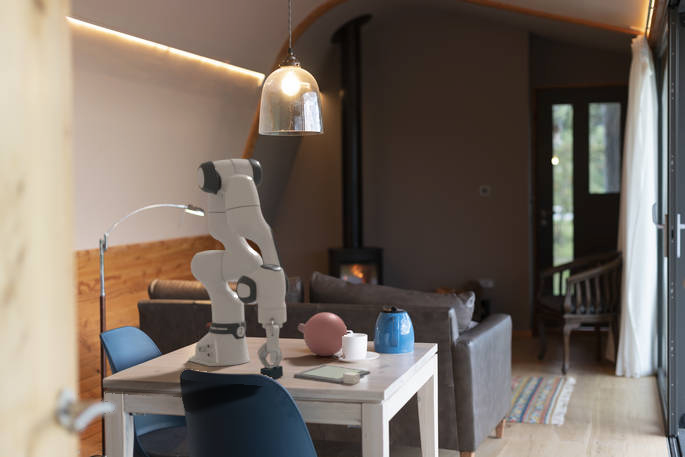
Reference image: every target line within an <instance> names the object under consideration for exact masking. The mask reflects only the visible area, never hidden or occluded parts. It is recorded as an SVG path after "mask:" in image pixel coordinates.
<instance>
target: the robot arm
mask: <svg viewBox="0 0 685 457" xmlns="http://www.w3.org/2000/svg"><path fill="white" fill-rule="evenodd" d="M263 174H264V173H263V167H262V165H261V164H260V162H259V161H258V160H257V159H253V158H246V159H245V158H228V159H222V160H221V159H220V160H215V161H214V160H213V161H212V160H210V161H205V162H203V163H202V162H201V164H199V166H198V169H197V173H196V178H197V179H196V180H197V183H198V187H199V189H201V191H203V192H204V193H207V221H208V232H209V234H210V236H211V237H212V238H213V239H215V240H217V241H219V242H220V243H222V245H223V246H224V250H220V249H218V250H212V249H210V250H204V251H201V252H196V253H195V254H194V256H192V260H191V262H190V272H191V274H192V275H193V277H194V279H196V280H197V281H199V283H200V284H202V285H203V286H204V288H205V289H206V291H207V294H208V296H209V300H210V303H211V313H212V314H211V316H212V317H211V319H212V321H211V322H208V323H206V325H207V326H206V327H207V328H209V329H208V333H206V334H205V335H204V336H203V337H202V338H201V339H200V340H199V341H198V342H196V344H195V350H194V352H195V353H194V354H193V355H192V356H190V357H188V361H189V362H192V363H196V364H200V365H204V366H207V367H219V366H221V367H222V366H223V367H224V366H236V365H243V364H246V363H249V362H250V361H251V358H250V354H249V350H248V344H247V343H248V342H247V337H246V331H247V327H246V326H247V323H246V320H245V305H246V304H247V305H255V304H257V323H259V324H262V326H261V327H262V328H263V329H265V332H266V343H267V351H270V352H269V358H270V359H269V360H270V364H274V363H276V351H278V350H279V347H280V329H281V328H283V326H284V325H283V324H284V323H286V322H287V304H286V298H287V296H288V294H289V293H290V292H289V291H290V288H291V287H290V286H291V284H290V280H289V278H288V275H287V274H286V271H285V270H284V269H285V268H284V265H283V262H282V258H281V255H280V252H279V247H278V245H277V241H276V237H275V235H274V232H273V229H272V227H271V226H270V225H269V223H267V221H266V220H265V218H264V216H263V213H262V209H261V203H260V198H259V194H258V193H259V192H258V190H257V189H258V187H260V185H261V184H262V182H263V177H264V176H263ZM247 240H250V241H252V243H254V244H256V245H257V247H258V248H259V250H260V252H261V255H260V254H259V253H258V252H257V251H256V250H254V249H253V248H252V247H251V245H249V243H248V242H247ZM261 256H262V257H261ZM236 282H237V283H236ZM229 283H236V287H235V289H236V290H235V291H234V290H232V289H231V287H230V286H229V285H230V284H229Z"/></svg>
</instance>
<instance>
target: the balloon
mask: <svg viewBox="0 0 685 457" xmlns="http://www.w3.org/2000/svg"><path fill="white" fill-rule="evenodd" d="M297 329H298V330H299V332H301V333H302V334H303V340H304V342H305V345H306V347H307V348H308V349H309V350H310V352H312V353H314V354H315V355H318V356H321V357H330V356H333V354H334V355H335V354H337V353H339V352H340V351H341V350H342V349H343V348H342V336H344V335H347V336H348V329H347V326H346V324H345V322H344V321H343V319H342V318H340V316H338V315H337V314H335V313H332V312H324V311H323V312H319V313H316V314H314V315H313V316H311V317H310V318H309V319H308V321H307V322H305V324H304V323H301V322H300V323H299V324H298V325H297Z"/></svg>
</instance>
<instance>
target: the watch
mask: <svg viewBox="0 0 685 457" xmlns="http://www.w3.org/2000/svg"><path fill="white" fill-rule="evenodd" d="M269 354H270V351H267V342H265V343H263V344H262V345H261V346H259V348H258V350H257V355H258V359H259V361H260V363H261V364H262V366H263V367H262V368H260V375H261V374H263V375H267V376H269V377H272V378H274V379H273V380H276V379H278V378H281V377H283V376H284V370H283V366H282V365H280V364H281V361H282V357H283V355H282V350H281V347H280V346H279V350H278V351H276V363H272V364H271V363H269V361H268V360H267V357H268V355H269Z"/></svg>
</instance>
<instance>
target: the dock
mask: <svg viewBox="0 0 685 457" xmlns="http://www.w3.org/2000/svg"><path fill="white" fill-rule="evenodd" d="M370 374H371V371H369V370H365V369H364V370H363V369H357V368H351V367H343V366H334V365H329V364H322V365H320V366H317V367H314V368H310V369H308V370H304V371H300V372H298V373H297V372H296V373H294V374H293V378H296V379H298V378H299V379H304V380H311V381H319V382H325V383H332V384H333V383H334V384H351V385H355V384H359V383H360V382H361V380H360V379H363V378H365V376H367V375H370Z"/></svg>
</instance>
